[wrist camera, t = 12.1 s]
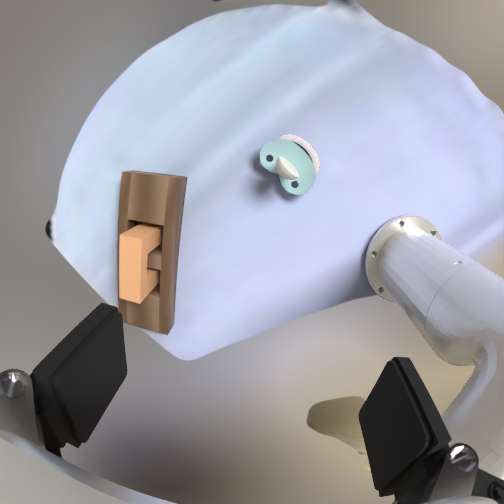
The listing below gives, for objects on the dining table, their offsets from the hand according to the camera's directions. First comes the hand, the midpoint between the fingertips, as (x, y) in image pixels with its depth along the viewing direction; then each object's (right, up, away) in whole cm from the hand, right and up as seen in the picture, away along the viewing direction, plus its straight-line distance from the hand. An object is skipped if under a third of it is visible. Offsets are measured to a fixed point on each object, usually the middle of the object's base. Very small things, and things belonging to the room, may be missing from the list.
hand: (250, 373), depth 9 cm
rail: (-14, +4, +30) cm, 33 cm away
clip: (-14, +4, +30) cm, 33 cm away
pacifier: (+5, +15, +25) cm, 30 cm away
